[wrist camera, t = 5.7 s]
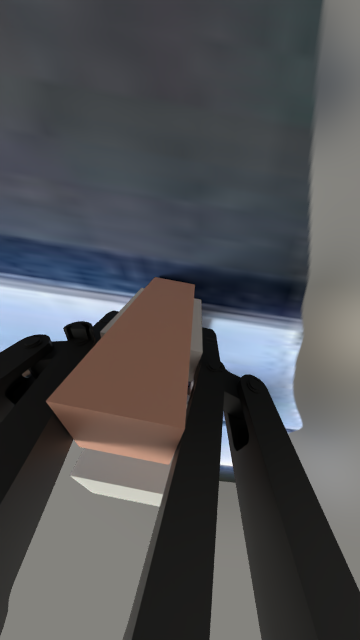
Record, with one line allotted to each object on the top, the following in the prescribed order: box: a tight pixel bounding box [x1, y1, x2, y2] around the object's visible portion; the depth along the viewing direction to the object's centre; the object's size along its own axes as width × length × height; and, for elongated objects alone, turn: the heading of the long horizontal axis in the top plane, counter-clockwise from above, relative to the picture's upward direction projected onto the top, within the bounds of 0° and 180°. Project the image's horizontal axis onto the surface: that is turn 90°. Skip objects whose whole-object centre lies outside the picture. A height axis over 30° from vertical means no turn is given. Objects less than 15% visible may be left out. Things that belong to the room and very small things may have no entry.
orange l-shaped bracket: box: [46, 277, 195, 465], centre depth 14 cm, size 18×7×12 cm, turn 171°
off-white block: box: [70, 381, 194, 507], centre depth 21 cm, size 12×12×12 cm
